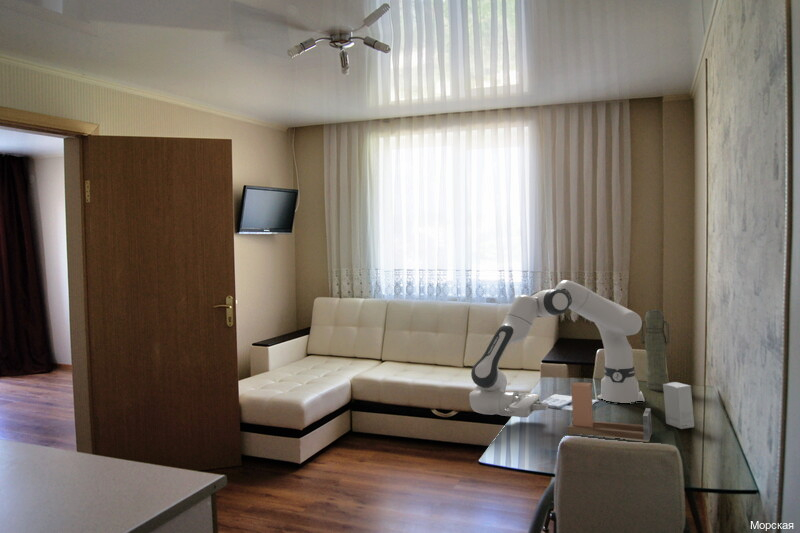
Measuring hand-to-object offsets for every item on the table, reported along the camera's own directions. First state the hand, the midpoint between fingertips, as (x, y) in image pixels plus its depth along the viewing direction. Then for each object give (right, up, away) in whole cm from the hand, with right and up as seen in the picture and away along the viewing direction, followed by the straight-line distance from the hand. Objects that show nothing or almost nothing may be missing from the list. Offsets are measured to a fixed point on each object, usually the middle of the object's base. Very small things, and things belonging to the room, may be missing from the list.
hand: (547, 406), depth 218 cm
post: (+11, -7, -6) cm, 15 cm away
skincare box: (+46, -6, -5) cm, 47 cm away
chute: (+19, -7, -10) cm, 22 cm away
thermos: (+62, -3, +49) cm, 79 cm away
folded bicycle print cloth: (+17, -7, +31) cm, 36 cm away
